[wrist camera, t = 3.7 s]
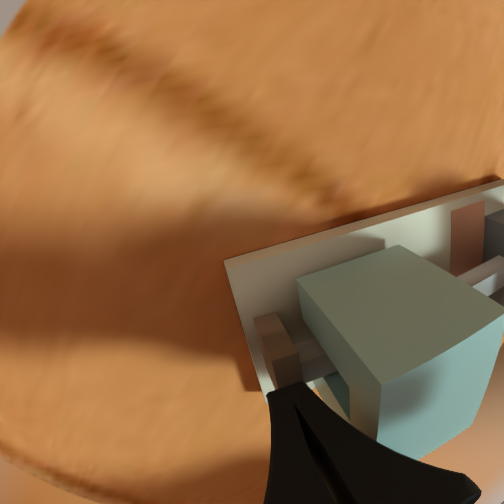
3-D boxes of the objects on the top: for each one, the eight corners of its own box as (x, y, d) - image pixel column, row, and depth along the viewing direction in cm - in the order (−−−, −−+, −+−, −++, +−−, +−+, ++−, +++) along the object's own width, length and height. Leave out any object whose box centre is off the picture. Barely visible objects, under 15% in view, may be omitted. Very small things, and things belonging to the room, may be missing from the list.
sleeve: (397, 346, 16) (471, 424, 10) (313, 382, 15) (370, 484, 9) (398, 244, 13) (508, 310, 7) (295, 278, 13) (381, 385, 7)
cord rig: (494, 287, 19) (552, 323, 13) (262, 392, 17) (295, 480, 11) (502, 179, 16) (575, 201, 10) (223, 260, 14) (254, 343, 8)
